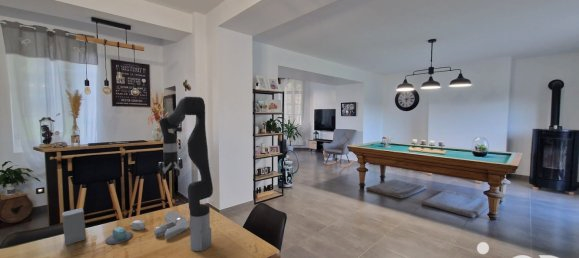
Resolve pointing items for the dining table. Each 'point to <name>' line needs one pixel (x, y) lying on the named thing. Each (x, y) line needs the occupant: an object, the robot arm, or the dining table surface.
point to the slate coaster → (114, 241)
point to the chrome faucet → (172, 225)
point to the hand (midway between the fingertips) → (171, 177)
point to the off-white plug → (138, 225)
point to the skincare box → (74, 226)
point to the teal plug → (119, 233)
